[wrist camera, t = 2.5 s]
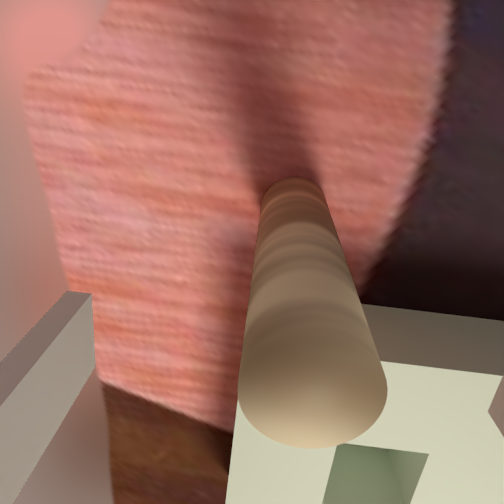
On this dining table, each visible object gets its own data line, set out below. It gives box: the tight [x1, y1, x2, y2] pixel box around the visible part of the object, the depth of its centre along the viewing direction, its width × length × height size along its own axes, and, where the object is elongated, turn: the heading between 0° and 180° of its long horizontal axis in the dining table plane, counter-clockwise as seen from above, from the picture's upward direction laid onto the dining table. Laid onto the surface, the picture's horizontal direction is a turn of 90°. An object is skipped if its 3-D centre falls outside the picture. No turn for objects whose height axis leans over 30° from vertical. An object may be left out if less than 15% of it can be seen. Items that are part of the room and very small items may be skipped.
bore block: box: [226, 304, 504, 504], centre depth 29 cm, size 18×18×6 cm
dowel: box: [237, 177, 388, 449], centre depth 19 cm, size 4×4×16 cm
